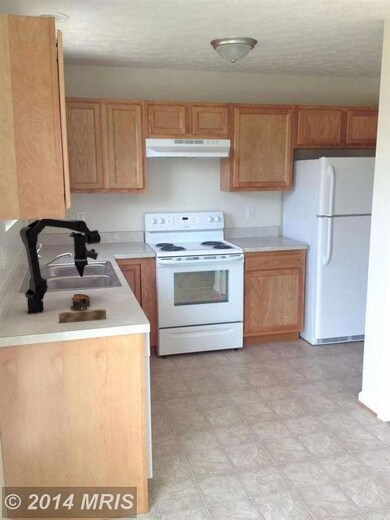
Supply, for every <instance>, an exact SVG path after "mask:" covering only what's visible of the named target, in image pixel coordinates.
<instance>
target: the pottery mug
mask: <svg viewBox="0 0 390 520" xmlns="http://www.w3.org/2000/svg"><path fill="white" fill-rule="evenodd" d="M71 301H72V305H70V310H71V311H82V309H84V310H85V309H88V307H90V306H91V303H90V302H91V301H90V296H89V295H87V294H82V293H75V294H73V297H72V298H71Z"/></svg>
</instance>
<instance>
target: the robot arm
mask: <svg viewBox="0 0 390 520" xmlns="http://www.w3.org/2000/svg"><path fill="white" fill-rule="evenodd" d="M46 227H48V228H49V227H50V228H60V229H68V231H69V230H70V231H72V232H71V233H70V234H69V235H68V237H69V238H73V249H74V250H73V253H74V255H73V261H74V266H75V268H76V270H77V273H78V274H79V276H80V278H83V277H84V271H85V267H86V266H89V260H88V258H89V259H93V260H94V261H97V259H98V256H99V252H96V249H94V248H91V249H88V248H87V245H95V244H100V243H101V240H102V239H101V238H102V237H101V235H100V232H99V230H97V229H94V230H90V228H89V227H88V226H87V223H86V221H84V220H83V219H81V220H80V219H69V220H68V219H67V220H64V219H63V220H62V219H54V218H53V219H52V218H47V219H42V220H37V219H36V220H34V221H33V222H31V223H29V224H28V225H27V226H24V227H22V228H21V229H20V230H19V236H20V239H21V242H22V243H23V245H24V246H25V251H26V257H27V262H28V267H29V268H28V269H29V275H30V278H29V281H28V282H29V283H28V286H29V287H28V288H27V290H26V291H25V293H24V297H25V298H26V299H27V300H26V301H27V314H39V313H40V314H41V313H43V312H44V308H45V306H44V304H45V303H44V297H45V294H46V293H48V292H47V291H48V288H49V286H48V283H47V279H46V278H44V277H42V274H41V268H40V267H41V266H40V261H39V256H38V250H37V244H38V238H39V234H41V233H42V231H43V230H44V228H46Z"/></svg>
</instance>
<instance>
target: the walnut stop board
mask: <svg viewBox="0 0 390 520" xmlns="http://www.w3.org/2000/svg"><path fill="white" fill-rule="evenodd" d="M106 319H107V310H106V308H101V309H99V308H98V309H87V310H81V311H78V310H72V311H63V312H61V311H60V312H58V322H59V324H62V323H72V322H74V323H75V322H83V321H84V322H85V321H96V320H106Z"/></svg>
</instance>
